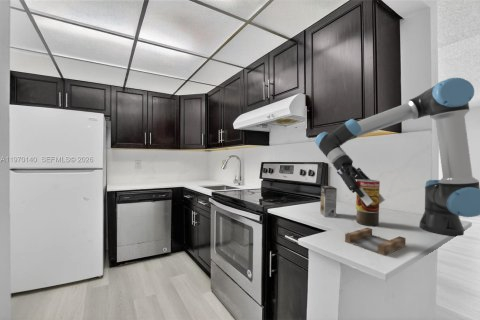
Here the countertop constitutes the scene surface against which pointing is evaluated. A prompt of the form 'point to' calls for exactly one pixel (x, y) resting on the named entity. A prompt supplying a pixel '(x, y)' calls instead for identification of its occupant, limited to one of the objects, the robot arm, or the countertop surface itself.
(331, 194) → the coffee box
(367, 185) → the canned food
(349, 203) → the countertop surface
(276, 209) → the countertop surface
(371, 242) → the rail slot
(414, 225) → the countertop surface
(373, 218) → the pillar candle
